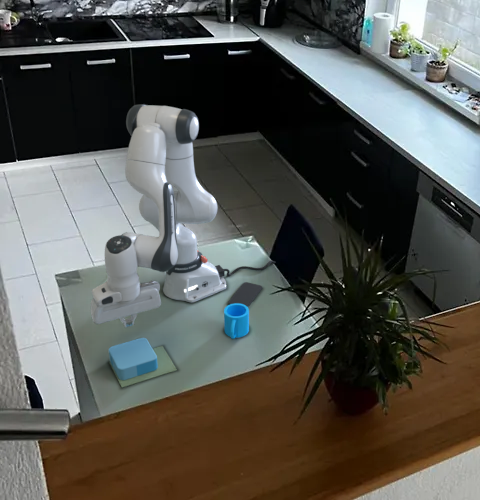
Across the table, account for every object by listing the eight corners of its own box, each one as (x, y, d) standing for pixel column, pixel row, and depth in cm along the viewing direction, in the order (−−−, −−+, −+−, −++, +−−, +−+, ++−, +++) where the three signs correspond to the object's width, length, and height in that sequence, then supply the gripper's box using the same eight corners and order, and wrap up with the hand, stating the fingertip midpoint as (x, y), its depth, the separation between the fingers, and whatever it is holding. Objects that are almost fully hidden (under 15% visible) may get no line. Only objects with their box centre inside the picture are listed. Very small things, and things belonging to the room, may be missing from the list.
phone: (263, 285, 256) (246, 307, 243) (263, 287, 256) (246, 309, 244) (244, 281, 257) (227, 303, 245) (244, 283, 258) (227, 305, 245)
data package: (108, 358, 216) (120, 381, 208) (106, 347, 214) (118, 370, 206) (146, 347, 222) (159, 369, 214) (145, 336, 220) (158, 358, 212)
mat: (162, 346, 224) (162, 345, 224) (176, 370, 215) (176, 369, 215) (109, 362, 215) (109, 361, 215) (121, 387, 206) (121, 387, 206)
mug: (227, 321, 237) (226, 302, 233) (250, 323, 237) (250, 304, 233) (219, 343, 227) (219, 323, 223) (244, 346, 227) (244, 326, 223)
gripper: (155, 273, 211) (158, 310, 218) (86, 291, 201) (92, 328, 208) (162, 284, 206) (165, 321, 214) (92, 303, 196) (97, 340, 204)
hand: (128, 325), depth 211 cm, fingers closed
